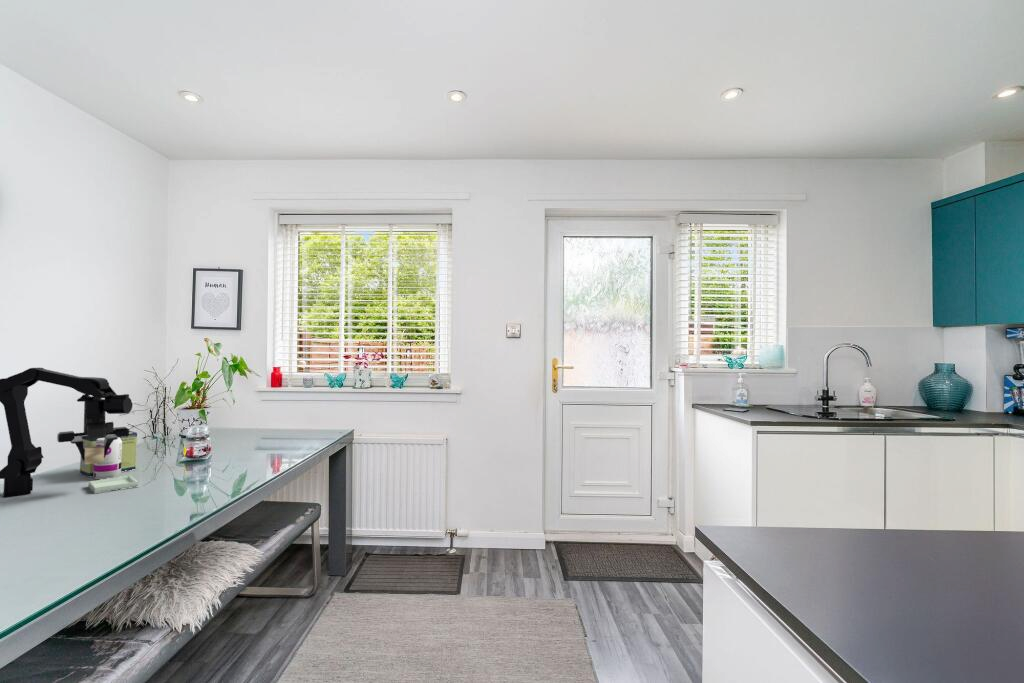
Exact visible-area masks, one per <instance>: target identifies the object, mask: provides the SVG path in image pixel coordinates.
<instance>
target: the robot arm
mask: <svg viewBox="0 0 1024 683" xmlns="http://www.w3.org/2000/svg"><path fill="white" fill-rule="evenodd" d="M39 381H40V382H45V383H50V384H52V385H53V384H54V385H56V386H57V385H58V386H62V387H68V388H72V389H74V390H76V391H77V392H78V393H81V394H82V396H80V397H78V399H76V402H81V403H82V402H83V403H84V407H83V411H84V412H83V432H74V431H73V430H71V431H70V430H69V431H59V432H58V433H57V436H56V438H57V439H56V440H57V442H58V443H67V442H70V443H71V444H75V446H76V448H77V449H78V452H79V454H80V458H81V457H82V460H84V447H83V441H82V440H81V439H82V438H87V437H88V438H96V437H101V438H102V437H105V440H104V458H105V456H106V453H107V451H108V449H109V446H110V445H111V443H112V442H113V441H114V440H116V439H118V438H117V436H118V437H123V436H129V431H130V429H129V428H128V427H126V426H120V427H117V426H116V427H114V421H107V422H106V413H107V414H109V415H120V414H121V415H122V414H123V415H126V414H130V413H131V412H132V409H133V402H132V399H131V398H130V394H128V393H127V394H126V393H124V394H117V392H115V390H114V389H113V388H112V387H111V385H110V383H109V381H108V379H106V378H105V377H96V376H95V377H93V376H88V377H87V376H77V375H72V374H69V373H64V372H59V371H54V370H52V369H51V370H50V369H46V368H43V367H30V368H27V369H25V370H23V371H22V372H18V373H16V374H13V375H11V376H8V377H5V378H0V403H1V405H3V408H4V413H5V419H6V423H7V430H8V434H9V441H10V451H9V452H8V455H7V465H6V466H4V467H3V468H2V469H1V470H0V480H3V492H2V496H3V498H8V497H17V496H22V495H30V494H32V491H33V489H34V487H33V486H34V484H33V482H34V478H33V477H32V474H34V473H36V471H37V468H38V467H40V466H41V464H42V462H43V458H44V456H43V453H42V451H43V450H42V446H37V447H36V446H35V445H34V444H33V443H32V438H31V433H30V428H29V423H28V417H27V412H26V407H25V406H26V405H25V401H26V398H27V396H28V393H29V390H28V389H29V388H30V387H32V386H34V385H35V384H36V383H38V382H39ZM106 436H107V437H106Z"/></svg>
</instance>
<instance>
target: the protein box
mask: <svg viewBox="0 0 1024 683" xmlns="http://www.w3.org/2000/svg"><path fill="white" fill-rule="evenodd" d="M106 437H107V436H106ZM117 437H118V436H117ZM99 438H101V437H96V438H88V437H87V438H82V439H81V440H82V441H83V447H84V448H86V447H94V446H95V442H96V441H97V439H99ZM102 438H105V437H102ZM120 439H121V440H122V458H121V471H125V470H132V469H137V468H136V467H137V464H136V463H137V448H138V447H137V446H138V445H137V443H138V432H135V431H132V430H129V436H123V437H120ZM79 464H80V465H79V474H80V473H82V474H81V475H83V474H84V475H83V476H86V475H87V476H86V477H88V476H89V477H88V478H91V477H90V476H93V470H94V463H93V464H84V463H83V460H82V457H81V456H80V463H79Z"/></svg>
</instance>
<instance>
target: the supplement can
mask: <svg viewBox="0 0 1024 683" xmlns="http://www.w3.org/2000/svg"><path fill="white" fill-rule="evenodd" d="M117 438H118V439H116V440H114V441H113V442H112V443H111V445H110V446H109V449H108V451H107V453H106V456H105V458H104V462H101V463H94V470H93V477H92V478H93V479H95V480H97V479H107V478H114V477H117V476H119V477H120V476H121V475H122V472H121V458H122V440H121V439H120V437H117ZM104 440H105V438H99V439H97V441H96V442H95V446H94V447H96V446H103V447H104Z"/></svg>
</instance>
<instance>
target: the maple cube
mask: <svg viewBox="0 0 1024 683" xmlns="http://www.w3.org/2000/svg"><path fill="white" fill-rule="evenodd" d="M101 462H104V447H103V446H96V447H86V448H84V460H83V463H84V464H93V463H101Z"/></svg>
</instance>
